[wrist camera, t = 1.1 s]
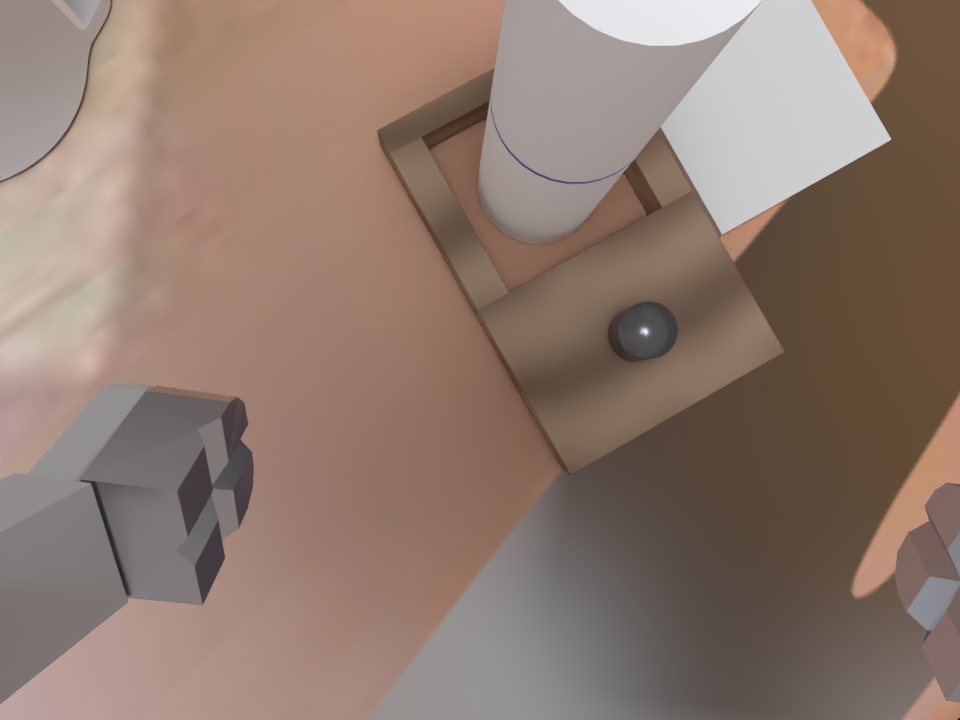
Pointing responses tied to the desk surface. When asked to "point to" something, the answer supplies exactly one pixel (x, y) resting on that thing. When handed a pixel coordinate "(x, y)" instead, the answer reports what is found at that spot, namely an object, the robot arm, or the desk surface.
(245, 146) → the desk surface
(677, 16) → the cylindrical container
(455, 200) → the walnut board
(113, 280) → the desk surface
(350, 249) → the desk surface
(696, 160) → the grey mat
